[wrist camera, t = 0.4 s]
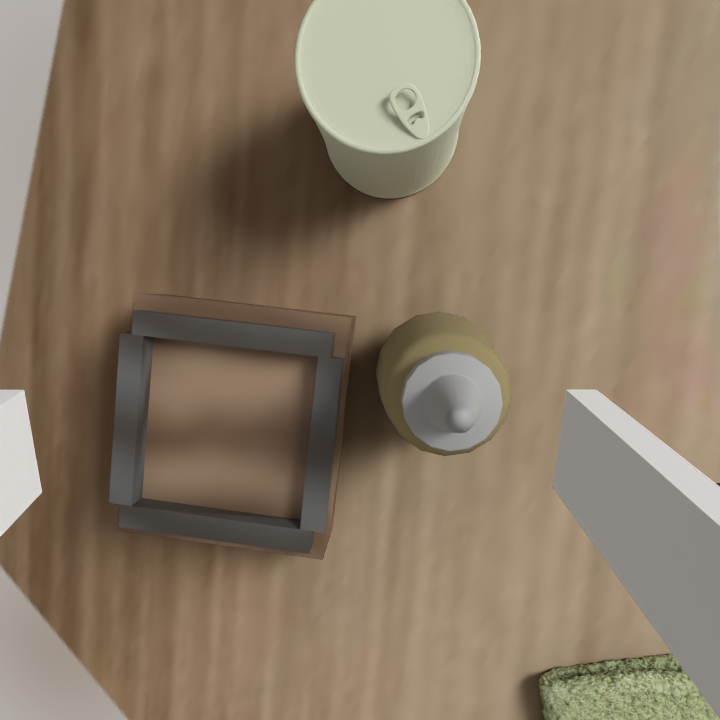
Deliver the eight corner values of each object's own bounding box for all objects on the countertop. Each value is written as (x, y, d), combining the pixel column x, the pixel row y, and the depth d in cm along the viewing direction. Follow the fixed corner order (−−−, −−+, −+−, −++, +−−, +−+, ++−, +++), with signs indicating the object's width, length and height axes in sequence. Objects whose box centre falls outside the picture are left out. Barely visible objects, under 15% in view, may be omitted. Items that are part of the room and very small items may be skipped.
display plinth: (166, 294, 41) (122, 292, 34) (355, 316, 40) (347, 318, 33) (151, 504, 42) (106, 539, 36) (332, 529, 42) (319, 570, 35)
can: (362, 222, 39) (344, 186, 27) (302, 103, 39) (257, 13, 27) (481, 159, 38) (517, 93, 26) (421, 35, 38) (429, -89, 26)
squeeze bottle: (437, 287, 39) (466, 273, 21) (515, 370, 39) (609, 425, 22) (354, 364, 40) (316, 413, 22) (430, 445, 40) (454, 557, 23)
